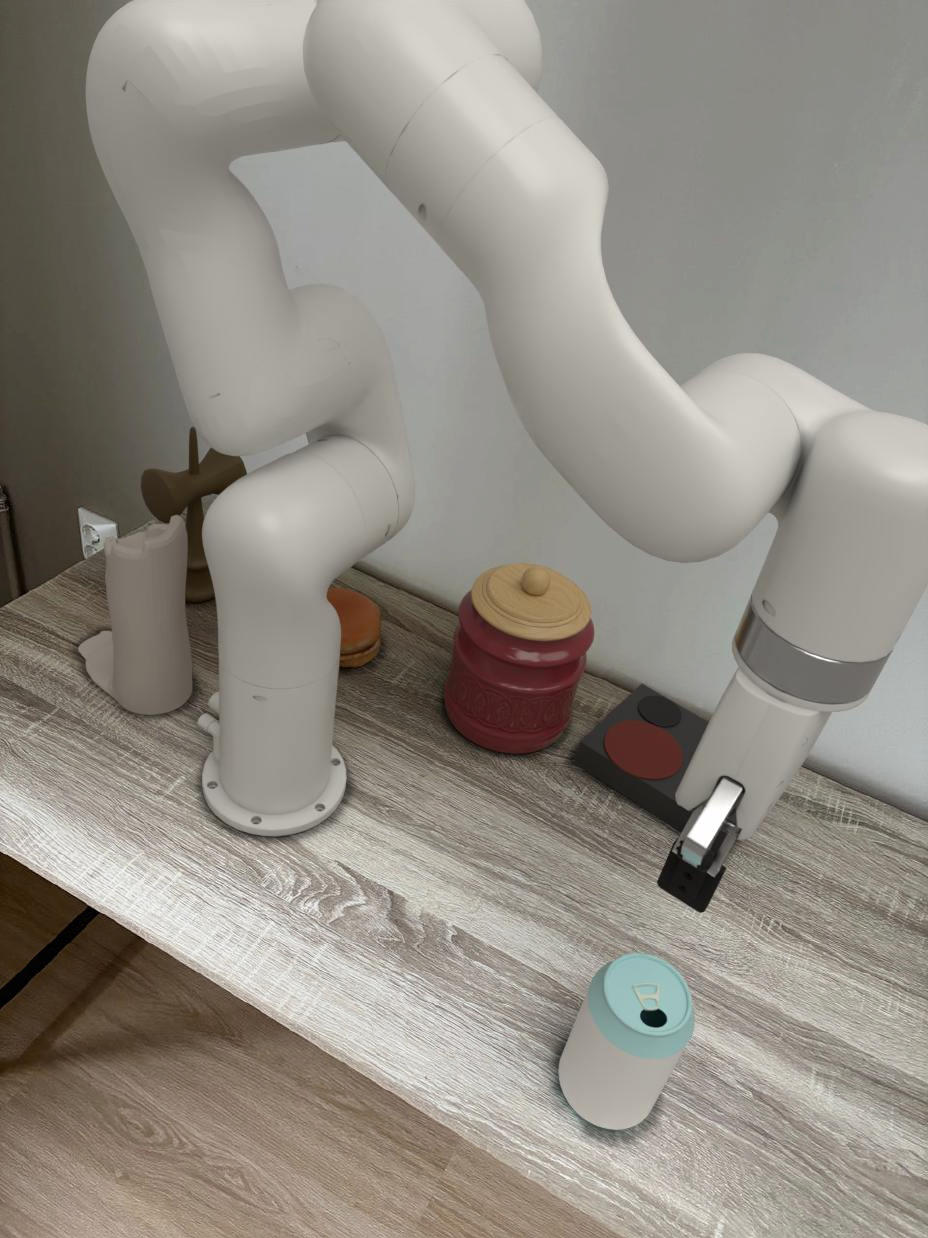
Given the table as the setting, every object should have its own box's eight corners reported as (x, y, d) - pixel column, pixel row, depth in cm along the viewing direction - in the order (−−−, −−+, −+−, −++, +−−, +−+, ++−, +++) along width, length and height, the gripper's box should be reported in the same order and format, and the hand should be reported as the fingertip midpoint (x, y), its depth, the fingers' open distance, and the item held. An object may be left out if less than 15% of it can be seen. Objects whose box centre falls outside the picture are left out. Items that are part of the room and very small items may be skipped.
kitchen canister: (594, 731, 99) (638, 592, 88) (490, 774, 92) (525, 629, 81) (518, 654, 106) (550, 518, 96) (417, 689, 100) (440, 546, 89)
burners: (588, 749, 92) (589, 747, 92) (650, 690, 100) (650, 688, 100) (719, 832, 86) (720, 830, 86) (773, 762, 95) (774, 760, 94)
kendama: (250, 587, 109) (252, 426, 97) (177, 622, 103) (170, 453, 90) (215, 563, 112) (213, 402, 99) (142, 594, 105) (131, 427, 93)
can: (672, 1089, 70) (723, 998, 63) (612, 1156, 66) (659, 1067, 59) (598, 1018, 74) (638, 924, 67) (536, 1078, 70) (572, 984, 62)
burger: (390, 666, 102) (395, 631, 99) (301, 676, 99) (303, 641, 96) (367, 608, 109) (370, 574, 106) (283, 616, 106) (284, 582, 103)
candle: (120, 622, 101) (105, 451, 89) (208, 691, 95) (204, 518, 83) (57, 652, 96) (32, 476, 84) (145, 726, 90) (131, 548, 78)
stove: (573, 762, 95) (580, 739, 93) (642, 697, 104) (649, 674, 102) (730, 864, 88) (742, 841, 86) (789, 784, 97) (801, 762, 95)
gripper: (799, 550, 59) (714, 747, 70) (677, 688, 47) (597, 901, 58) (921, 605, 56) (813, 803, 67) (823, 767, 45) (711, 977, 55)
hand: (713, 848), depth 62 cm, fingers open, 9 cm apart
